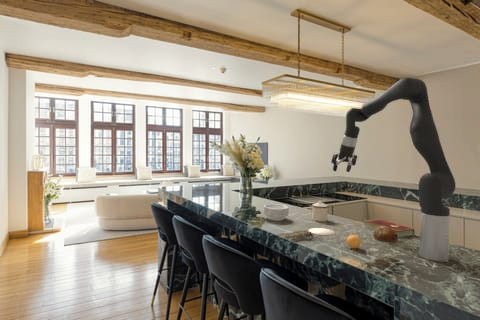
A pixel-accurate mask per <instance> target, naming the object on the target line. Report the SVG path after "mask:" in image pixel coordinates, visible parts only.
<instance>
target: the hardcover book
mask: <svg viewBox="0 0 480 320" xmlns="http://www.w3.org/2000/svg"><path fill="white" fill-rule="evenodd" d="M363 223H364V225H363V228H365V227H366V228H365V229H368V228H370V229H369V230H372V229H373V230H372V231H375V229H376V228H378V227H380V226H387V227H390V228H391V229H393V230H394V231H395V232H397V235H398V236H397V238H398V239H399V238H403V237H404V236H405V237H410V234H411V235H412V236H415V234H416V233H415V231H416V230H415V228H413V227H409V226H405V225H401V224H398V223H393V222H390V221H386V220H383V219H370V220H363Z"/></svg>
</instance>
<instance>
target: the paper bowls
mask: <svg viewBox="0 0 480 320" xmlns="http://www.w3.org/2000/svg"><path fill="white" fill-rule="evenodd" d="M289 213H290V207H289V206H288V205H284V204H278V203H269V204H264V205H263V215H265V216H266V218H267V219H268V220H270V221H274V222H275V221H276V222H279V221H280V222H281V221H284V220H285V218H286V217H288V216H289Z"/></svg>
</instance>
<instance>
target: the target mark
mask: <svg viewBox="0 0 480 320" xmlns="http://www.w3.org/2000/svg"><path fill="white" fill-rule="evenodd" d="M308 232H309V233H310V232H311V233H310V234H313V235H317V236H334V235H335V234H336V232H335V231H334V230H332V229H330V228H325V227H312V228H309V229H308Z"/></svg>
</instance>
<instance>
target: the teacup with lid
mask: <svg viewBox="0 0 480 320" xmlns="http://www.w3.org/2000/svg"><path fill="white" fill-rule="evenodd" d="M311 206H312V207H311V213H312V220H313V221H314V222H320V223H321V222H324V223H325V222H327V221H328V208H329V205H328V204H326V203H324V202H323V201H322V200H318V202H316V203H312V205H311Z"/></svg>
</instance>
